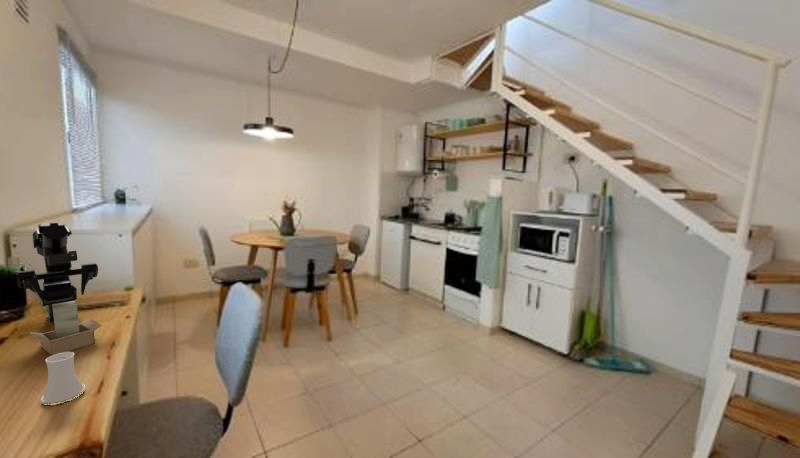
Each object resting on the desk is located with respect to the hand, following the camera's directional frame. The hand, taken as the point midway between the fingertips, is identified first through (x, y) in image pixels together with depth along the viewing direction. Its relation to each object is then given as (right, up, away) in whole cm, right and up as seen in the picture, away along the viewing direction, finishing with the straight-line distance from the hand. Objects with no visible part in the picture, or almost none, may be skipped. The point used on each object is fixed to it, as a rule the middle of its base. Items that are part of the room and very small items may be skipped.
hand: (63, 297), depth 110 cm
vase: (+27, -18, -28) cm, 43 cm away
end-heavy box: (+5, -14, -3) cm, 15 cm away
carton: (+5, -14, -3) cm, 15 cm away
